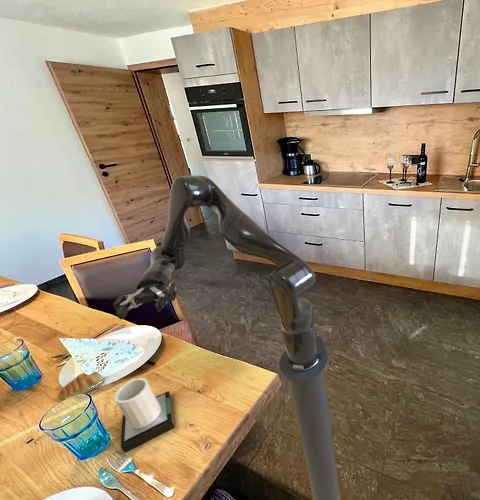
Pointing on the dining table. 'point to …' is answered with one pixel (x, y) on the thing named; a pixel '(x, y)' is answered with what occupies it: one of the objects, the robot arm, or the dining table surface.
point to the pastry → (81, 385)
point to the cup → (138, 402)
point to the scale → (149, 425)
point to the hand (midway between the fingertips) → (139, 312)
